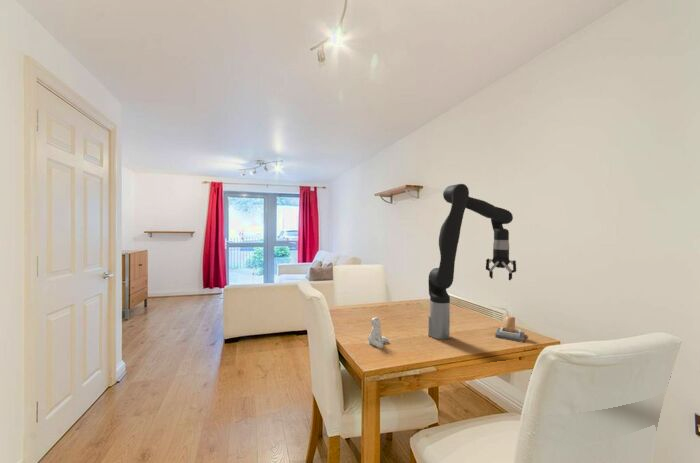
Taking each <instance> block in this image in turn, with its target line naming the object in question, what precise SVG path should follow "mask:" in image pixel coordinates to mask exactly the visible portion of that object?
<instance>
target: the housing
mask: <svg viewBox="0 0 700 463" xmlns="http://www.w3.org/2000/svg"><path fill="white" fill-rule="evenodd" d="M524 336H526V332H524V331H522V330H521V329H520V328H515V333H510V332H506V326H501V327H498V328H497V330H496V332H495V338H498V337H499V338H500V339H503V340H504V339H505V340H509V339H511V340H510V341H514V340H516V342H519V341H522V342H521V343H524V342H525V337H524Z"/></svg>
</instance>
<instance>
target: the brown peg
mask: <svg viewBox="0 0 700 463" xmlns="http://www.w3.org/2000/svg"><path fill="white" fill-rule="evenodd" d="M505 327H506V332H510V333H515V329H516V318H515V316H511V315H506V316H505Z"/></svg>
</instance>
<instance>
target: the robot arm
mask: <svg viewBox="0 0 700 463" xmlns="http://www.w3.org/2000/svg"><path fill="white" fill-rule="evenodd" d="M469 194H470V191H469V188H468V186H467V185H466V184H464V183H456V184H452V185H448V186H447V187H446V188H444V190H443V193H442V196H443V199H444V201H445V202H446V203H448V204H451V207H450V210H449V213H448V215H447V217H446V218H445V219H444V222H443V223H442V225H441V227H440V231H439V236H438V248H439V253H440V261H439V266H438V267H434V268H432V269H431V270H430V272H429V273H428V280H427V281H428V295H429V299H430V301H429V302H430V307H429V308H430V309H429V316H428V336H429V337H431V338H433V339H437V340H448V339H450V334H451V333H450V327H451V325H450V323H451V322H450V320H451V319H450V318H451V315H450V314H451V312H450V310H451V307H450V306H451V297H450V295H449V293H448V292H447V289H449V288H450V287H452V284H453V282H454V277H455V276H454V275H455V261H456V256H457V251H458V244H459V240H460V236H461V235H460V234H461V228H462V223H463V219H464V214H465V210H466V209H467V210H469V211H472V212H474V213H477V214H479V215H480V216H482V217H485V218H487V219H490V222H491V227H492V230H493V244H492V258H486V260H485V262H486V263H485V270H486V271H488V272H489V273H488V274H489V276H488V277H489V278H490V279H493V277H494V275H493V274H494V273H493V272H494V269H496V268H498V269H499V268H501V269H505V270H506V271H508V281H511V280H512V279H513V273H516V272H517V261H516V260H510V238H509V236H510V232H509V229H507V228H505V227H504V225H508V224H510V223H511V222H512V221H513V219H514V217H513V214H512V212H511V211H510V210H508V209H505V208H502V207H499V206H495V205H493V204H491V203H489V202H487V201H485V200H483V199H480V198H474V197H473V196H472V197H471V196H470V195H469ZM491 262H492V263H493V265H492V266H491V267H490V264H491ZM510 263H511V265H512V268H511V267H510V266H509V264H510Z"/></svg>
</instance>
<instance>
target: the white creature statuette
mask: <svg viewBox="0 0 700 463" xmlns="http://www.w3.org/2000/svg"><path fill="white" fill-rule="evenodd" d="M370 324H371V326H372V328H371V331H370V333H369V335H368V337H367V340H368V342H369V344H370V345H372V346H374V347H376V348H377V349H383V348H384V344H389V338H388V337H386V336H383V335H382V329H381V321H380V319H379V317H377V316H375V317H373V318H372V319H370Z"/></svg>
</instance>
